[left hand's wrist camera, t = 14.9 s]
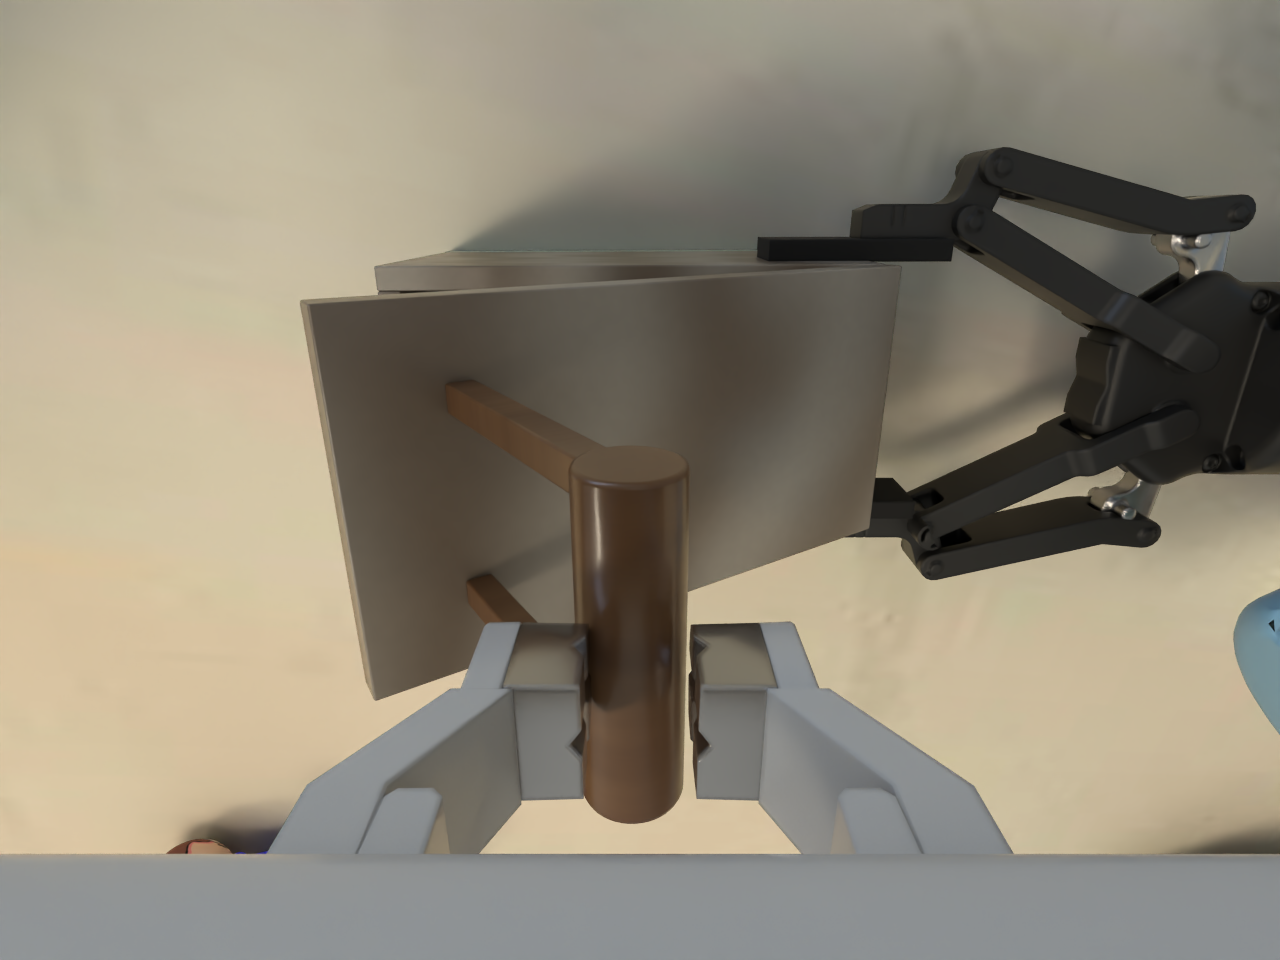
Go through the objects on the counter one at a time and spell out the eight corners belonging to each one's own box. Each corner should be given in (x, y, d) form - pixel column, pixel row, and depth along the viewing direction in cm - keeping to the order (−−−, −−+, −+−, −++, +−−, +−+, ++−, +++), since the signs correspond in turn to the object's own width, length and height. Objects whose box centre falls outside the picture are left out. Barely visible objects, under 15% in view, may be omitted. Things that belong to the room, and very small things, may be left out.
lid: (365, 682, 17) (505, 989, 10) (299, 300, 14) (439, 379, 7) (850, 520, 26) (1097, 628, 20) (879, 264, 23) (1189, 284, 16)
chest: (468, 441, 36) (407, 520, 27) (449, 251, 33) (373, 265, 23) (800, 440, 36) (856, 519, 27) (815, 249, 33) (885, 263, 23)
